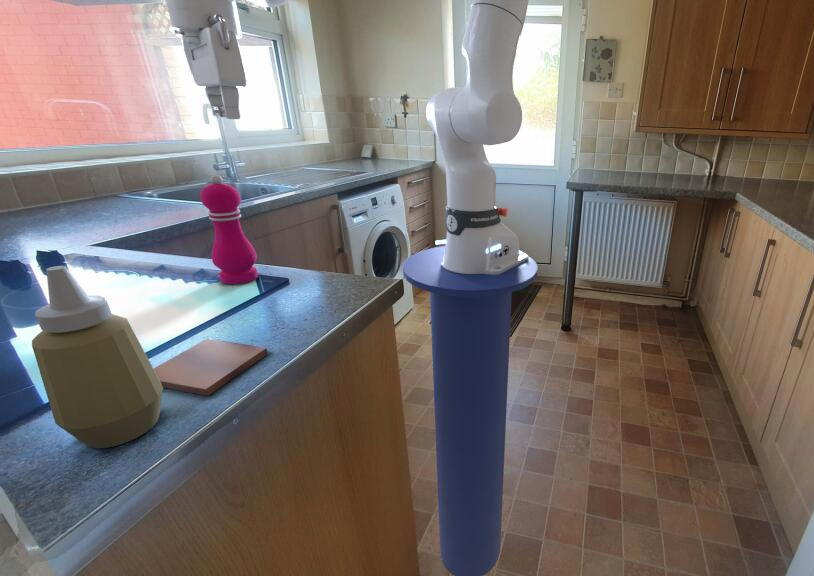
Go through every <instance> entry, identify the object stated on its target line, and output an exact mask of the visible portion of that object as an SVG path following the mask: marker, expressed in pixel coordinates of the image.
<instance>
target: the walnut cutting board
mask: <svg viewBox="0 0 814 576" xmlns="http://www.w3.org/2000/svg"><path fill="white" fill-rule="evenodd" d="M268 354H269V352H268V348H267V347H264V346H258V345H251V344H244V343H239V342H234V341H233V342H232V341H227V340H220V339H214V338H206V339H204V340H202V341H200V342H199V343H196V344H195V345H193V346H191V347H190V348H187V349H186V350H184V351H182V352H181V353H179V354H177V355H175V356H174V357H171V358H170V359H168V360H166V361H164V362H162V363H161V364H159V365H157V366H156V367H153V369H154V371H155V372H156V374H157V376H158V378H159V380H160V382H161V384H162V386H163V389H169V390H174V391H180V392H185V393H191V394H195V395H201V396H206V397H208V396H210V395H211V394H213V393H215V392H216V391H217V390H219V389H220V388H221V387H223V386H224V385H226V384H227V383H229V382H230V381H231V380H233V379H234V378H235V377H237V376H238V375H240V374H241V373H243V372H244V371H246V370H247V369H248V368H250V367H251V366H252V365H254V364H255V363H257V362H258V361H260V360H262V359H263V358H264V357H265V356H267V355H268Z"/></svg>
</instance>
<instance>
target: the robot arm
mask: <svg viewBox="0 0 814 576" xmlns="http://www.w3.org/2000/svg"><path fill="white" fill-rule="evenodd" d="M245 1H246V2H249V3H252V4H255V5H257V6H261V7H263V8H264V7H265V8H279V7H282V6H284V5H286V4H287V3H288V2H290V0H245ZM165 2H166V6H167V10H168V14H169V19H170V22H171V27H172V29H173V30H174V34H175V35H176V36H177V37H180V40H181V44H182V48H183V51H184V55H185V58H186V61H187V64H188V68H189V71H190V74H191V76H192V79H193V81H194V83H195V85H196V86H197V87H198V88H204V90H205V95H206V98H207V100H208V102H209V105H210V108H211V111H212V116H214V117H215V118H226V119H228V120H240V118H241V112H240V108H239V107H240V93H239V89H238V88H245V87H246V86H247V75H246V68H245V64H244V60H243V55H242V52H241V47H240V42H239V39H242V37H243V33H242V28H241V23H240V18H239V12H238V7H237V1H236V0H165ZM528 5H529V0H472V3H471V6H470V10H469V15H468V18H467V23H466V27H465V31H464V35H463V38H462V43H461V54H462V56H463V58H464V60H465V61H466V64H467V79H466V83H465V86H464V87H462V86H461V87H460V86H459V87H448V88H445V89H442V90H441V91H439V92H437V93H435V94H434V95H432V96H431V97H430V99H429V100H428V102H427V105H426V110H425V111H426V113H425V115H426V120H427V124H428V126H429V128H430V129H431V130H432V132H433V133H434V135H435V137H436V140H437V142H438V145H439V148H440V152H441V156H442V160H443V164H444V168H445V169H444V170H445V177H446V178H445V179H446V206H445V226H446V237H445V239H439V240H435V245H444V246H445V252H444V256H443V260H442V266H443V267H444V268H445V269H447V270H449V271H452V272H456V273H462V274H488V275H499V274H501V273H503V272H505V271H507V270H509V269H511V268H513V267H515V266H517V265H519V264H521V263H523V262H525V261H527V260H528V256H529V255H528V254H527V253H525V252H524V251H522V250H520V240H519V239H520V238H519V237H518V235H517V234H516V233H515V232H513V231H512V230H511V229H510V228H509V227H507V226H506V225H505V224H504V223H503V222H501V216H502V217H505V218H506V217H507V216H508V215H509V209H508V207H502V206H500V207H499V208H498V207H497V206H496V197H497V195H496V193H497V192H496V191H497V174H496V170H495V169H494V167H493V165H491V163H490V162H489V160H488V157H487V155H486V151H485V147H484V146H496V145H501V144H505V143H508V142H510V141H512V140H513V139H515V138H516V137H517V136H518V133H519V132H520V129H521V127H522V123H523V110H522V109H523V108H522V105H521V103H520V101H519V99H518V98H517V96H516V93H515V91H514V84H513V83H514V81H513V80H514V79H513V76H514V75H513V74H514V66H515V65H514V64H515V60H516V57H517V56H516V55H517V52H518V48H519V44H520V40H521V36H522V32H523V28H524V25H525V21H526V16H527V11H528V7H529V6H528Z"/></svg>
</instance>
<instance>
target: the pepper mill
mask: <svg viewBox="0 0 814 576" xmlns="http://www.w3.org/2000/svg"><path fill="white" fill-rule="evenodd" d="M210 182H211V184H208V185H206V186H204V187H203V188H202V190H200V191H201V192H200V202H201V204H202V205H203V206H204V207H205V208H206V209H208V211H207V215H208V219H209V220H210V221H212V224H213V227H214V232H215V233H214V242H213V246H212V250H211V260H212V264H213V265H214V266H215V267H216V268H218V269H219V270H220V271H219V272H218V275H219V280H220V282H221V283H222V284H226V285H241V284H246V283H249V282H252V281H254V280H256V279H257V278H258V277H259V273H258V269H257V267H256V266H254V264H255V263H256V262H257V260H258V256H257V253H256V250H255V248H254V246H253V244H252V243H251V242H250V241H249V240H248V238H247V237H246V235H245V233H244V231H243V229H242V226H241V221H240V219H241V218H242V214H241V209H239V208H238V207H239V206H240V205H241V202H242V198H241V195H240V193H239V190H238V189H236V187H234V186H232V185H230V184H229V183H228V184H227V183H223V182H224V181H223V177H222V176H221V175H219V174H213V175H211V177H210Z"/></svg>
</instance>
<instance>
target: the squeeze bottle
mask: <svg viewBox="0 0 814 576" xmlns="http://www.w3.org/2000/svg"><path fill="white" fill-rule="evenodd" d="M45 269H46V270H45V271H46V282H47V290H48V298H49V299H48V301H49V303H48V304H46V305H43V306H42V307H39V308H38V309H37V310H35V312H34V316H35V319H36V321H37V323H38V325H39V327H40V330H41V331H40V332H39V333H38V334H37V335H36V336H35V337H34V338H33V339H32V340H31V347H32V351H33V355H34V357H35V360H36V364H37V367H38V370H39V373H40V377H41V380H42V384H43V387H44V390H45V394H46V397H47V401H48V404H49V407H50V410H51V414H52V416H53V417H52V418H53V420H54V423H55V425H56V426H58V427H59V428H61V429H62V430H64V431H65V432H66V433H67V434H69V435H70V436H72V437H73V438H75V439H76V440H78V441H79V442H80V443H81V444H83V445H84V446H87V447H89V448H91V449H107V448H113V447H116V446H120V445H123V444H126V443H128V442H131V441H133V440H135V439H138V437H141V436H142V435H144V434H146V433H147V432H149V431H150V430H151V429H152V428H153V427H154V426H155V425H157V423H158V421H159V419H160V415H161V414H160V413H161V408H162V401H163V399H162V398H163V392H164V391H163V390H164V388H163V386H162V384H161V382H160V380H159V378H158V376H157V374H156V372H155V371H154V367H153V365H152V363H151V361H150V359H149V358H148V355H147V354H146V352H145V350H144V348H143V346H142V344H141V343H140V341H139V339H138V337H137V335H136V333H135V331H134V329H133V328H132V325H131V324H130V321H129V320H128V318H127V317H124V316H121V315H117V314H114V313H112V311H111V308H110V306H109V303H108V301H107V298H106V297H105V296H104V297H103V296H101V295H88V293H87V292H86V291H85V290H84V288H83V287H82V286H81V284H80V283H79V281H77V280H76V278H75V277H74V276H73V274H72V273H71V272H70V271H69V269H68V268H67V267H66V266H65V265H54V266H49V267H48V268H45Z"/></svg>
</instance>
